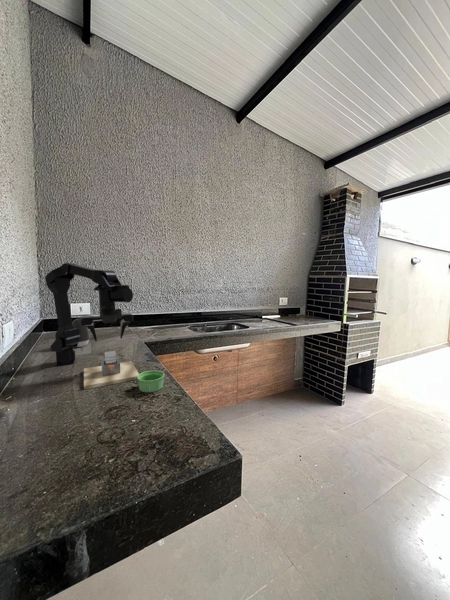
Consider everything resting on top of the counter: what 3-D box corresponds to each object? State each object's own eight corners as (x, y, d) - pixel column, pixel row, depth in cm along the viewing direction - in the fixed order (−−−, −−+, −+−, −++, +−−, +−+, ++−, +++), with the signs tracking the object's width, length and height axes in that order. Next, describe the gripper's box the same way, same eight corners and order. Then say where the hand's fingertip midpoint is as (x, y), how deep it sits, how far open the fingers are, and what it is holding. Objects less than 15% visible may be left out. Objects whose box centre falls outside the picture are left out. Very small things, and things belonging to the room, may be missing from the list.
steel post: (105, 374, 90) (105, 354, 89) (105, 370, 93) (104, 352, 92) (116, 372, 92) (116, 353, 91) (115, 369, 95) (114, 350, 94)
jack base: (84, 389, 80) (83, 375, 80) (84, 371, 96) (83, 359, 95) (139, 378, 89) (139, 365, 89) (131, 363, 105) (131, 352, 104)
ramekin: (131, 390, 80) (131, 378, 80) (149, 380, 88) (149, 368, 88) (153, 395, 77) (153, 382, 76) (169, 384, 85) (169, 372, 85)
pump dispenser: (94, 345, 132) (93, 318, 131) (74, 349, 124) (72, 320, 122) (84, 342, 138) (83, 316, 136) (64, 346, 129) (63, 319, 128)
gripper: (80, 304, 84) (82, 348, 86) (135, 302, 94) (136, 341, 95) (80, 302, 94) (82, 341, 95) (130, 300, 103) (131, 335, 105)
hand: (108, 339), depth 97 cm, fingers open, 9 cm apart
